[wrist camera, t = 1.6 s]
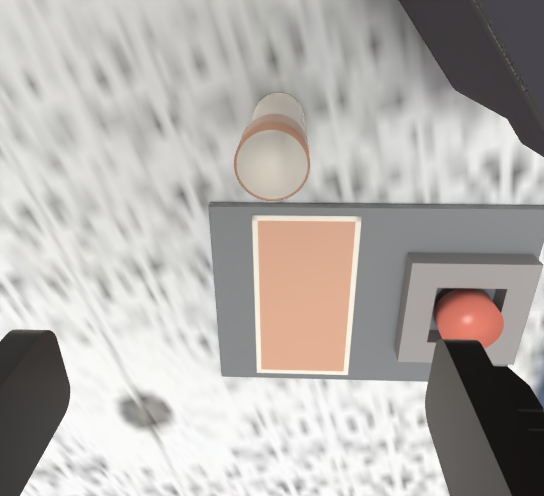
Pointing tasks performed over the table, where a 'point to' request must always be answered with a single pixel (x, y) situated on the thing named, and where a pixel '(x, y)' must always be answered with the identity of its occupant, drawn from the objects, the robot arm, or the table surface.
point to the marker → (274, 149)
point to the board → (363, 283)
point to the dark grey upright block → (490, 55)
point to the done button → (468, 316)
